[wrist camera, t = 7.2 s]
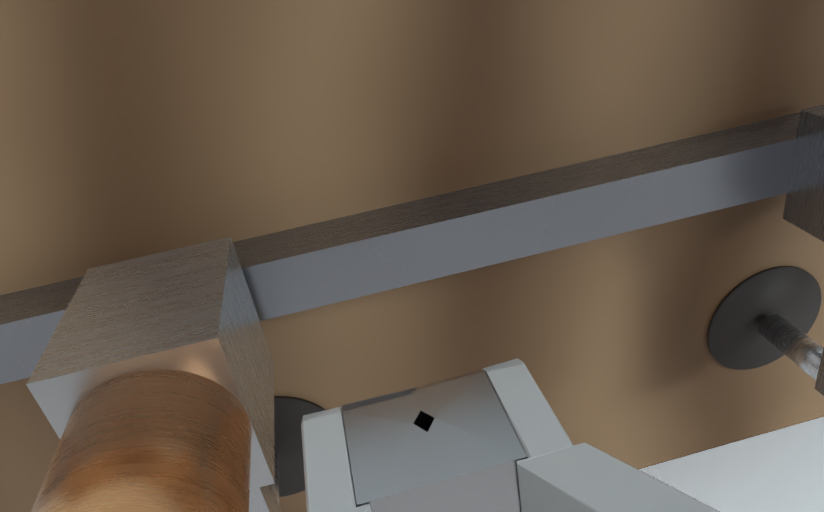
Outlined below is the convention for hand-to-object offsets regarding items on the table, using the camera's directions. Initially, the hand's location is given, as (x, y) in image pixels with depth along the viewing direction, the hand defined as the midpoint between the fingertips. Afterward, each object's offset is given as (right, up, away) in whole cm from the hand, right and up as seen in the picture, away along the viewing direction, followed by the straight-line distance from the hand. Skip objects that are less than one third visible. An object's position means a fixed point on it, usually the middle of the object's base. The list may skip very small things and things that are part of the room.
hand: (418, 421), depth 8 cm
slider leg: (-4, 0, +5) cm, 6 cm away
